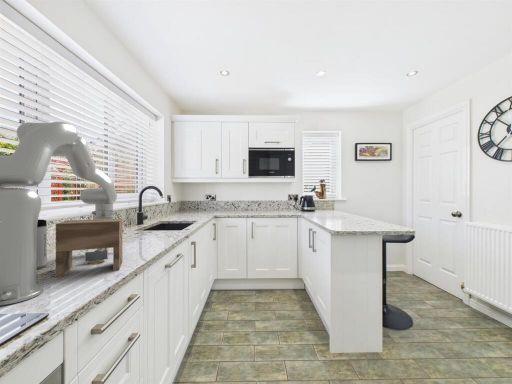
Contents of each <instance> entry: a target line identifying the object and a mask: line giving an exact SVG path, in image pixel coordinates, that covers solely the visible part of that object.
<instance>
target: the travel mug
mask: <svg viewBox="0 0 512 384" xmlns="http://www.w3.org/2000/svg"><path fill="white" fill-rule="evenodd" d="M47 227H48V225H47V219H46V220H45V219H39V218H38V222H37V269H36V271H37V270H41V269H44V268H46V267H47V258H48V257H47V255H48V254H47V253H48V252H47V251H48V249H47V247H48V246H47V245H48V243H47V241H48V240H47V238H48V237H47V235H48V232H47V231H48V230H47V229H48V228H47Z"/></svg>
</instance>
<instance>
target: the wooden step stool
mask: <svg viewBox="0 0 512 384" xmlns="http://www.w3.org/2000/svg"><path fill="white" fill-rule="evenodd" d="M123 225H124V223H123V218H115V219H95V220H93V219H75V220H73V219H70V220H64V221H60V222H58V223H55V277H56V278H57V277H59V278H60V277H63V276H64V275H66V273H67V272H69V271H70V270H71V269H72V268H73V251H86V250H87V251H88V250H97V249H101V248H108V249H110V248H111V249H112V248H113V249H112V250H113V251H112V254H113V257H112V258H113V259H112V260H113V261H112V264H113V266H112V267H113V268H112V269H113V271H114V272H115V271H120V269H121V267H122V265H123V238H124V236H123V233H124V232H123V230H124V229H123Z"/></svg>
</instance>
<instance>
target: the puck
mask: <svg viewBox="0 0 512 384" xmlns="http://www.w3.org/2000/svg"><path fill="white" fill-rule="evenodd" d="M105 261H106V259H105V260H94V261H87V263H88V264H89V265H96V264H102V263H104V262H105Z"/></svg>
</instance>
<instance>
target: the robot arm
mask: <svg viewBox="0 0 512 384" xmlns="http://www.w3.org/2000/svg"><path fill="white" fill-rule="evenodd" d="M78 133H79V132H78V130H77V128H76V127H75V126H74V125H72V124H71V123H69V122H64V121H53V122H22V123H21V124H20V125H18V127H17V129H16V137H17V138H18V140H19V143H18V144H17V146H16V149H14V152H13V153H12V154H8V155H1V154H0V306H4V305H5V306H6V305H11V304H16V303H20V302H23V301H27V300H30V299H32V298H36V297H38V296H39V295H40V294H42V293H43V292H44V287H43V285H41V284H40V285H39V284H37V270H38V269H37V222H38V219H39V217H40V213H41V208H42V199H41V196H40V195H39V194H38V193H37V191H34V190H31V189H29V188H26V187H35V186H38V185H40V184H41V183H43V181H44V178H45V176H46V174H47V171H48V168H49V165H50V163H51V158H52V157H64V158H66V160H67V162H68V163H69V166H70V169H71V171H72V173H73V174H74V175H75V176H76V177H78V178H80V179H84V180H85V181H89V182H92V183H94V184H96V185H98V186H100V187H97V188H95V187H93V188H92V187H89V188H85V189H83V190H82V191H81V192H80V197H79V198H80V201H81V202H83V203H84V204H87V205H95V209H94V211H91V215H94V216H93V217H92V220H95V219H116V216H115V215H114V203H115V202H116V201H117V196H118V195H117V189H116V188H115V185H114V181H112V179H111V178H110V177H109V176H108V175H107V174H106V173H105V172H103V171H102V170H101V169H99V168H97V166H96V164H95V162H94V159H93V156H92V153H91V151H90V149H89V146H88V143H87V140H85V138H83V137H82V136H78ZM124 231H125V230H124V229H123V233H124ZM36 269H37V270H36Z"/></svg>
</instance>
